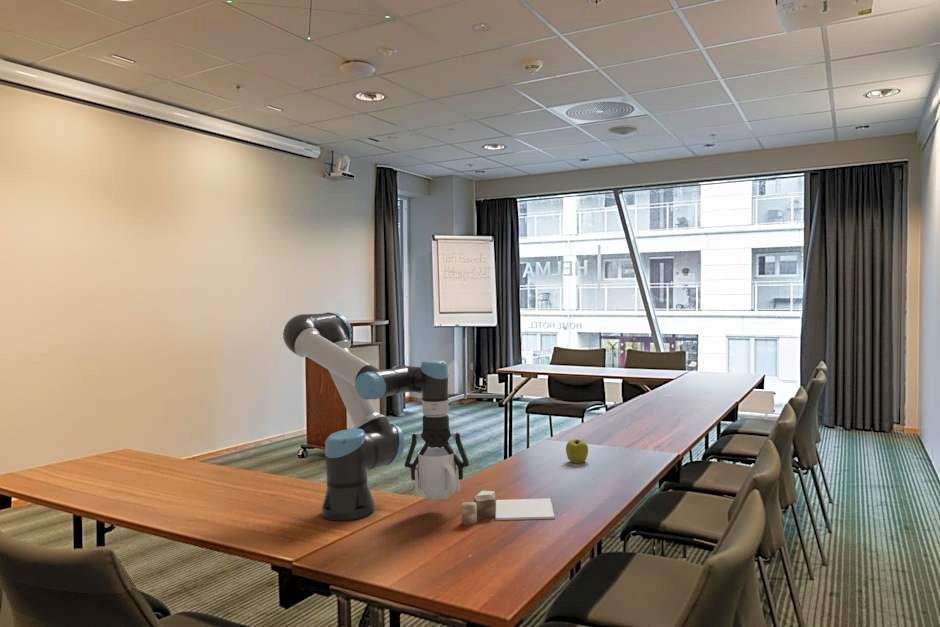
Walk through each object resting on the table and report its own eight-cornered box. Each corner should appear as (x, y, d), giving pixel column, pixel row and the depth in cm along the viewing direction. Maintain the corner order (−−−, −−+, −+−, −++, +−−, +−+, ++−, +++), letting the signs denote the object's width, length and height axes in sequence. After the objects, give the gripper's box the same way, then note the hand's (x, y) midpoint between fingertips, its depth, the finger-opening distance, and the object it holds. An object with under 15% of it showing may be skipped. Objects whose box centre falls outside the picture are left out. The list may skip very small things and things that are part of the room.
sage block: (476, 510, 186) (475, 496, 185) (482, 504, 191) (481, 490, 191) (489, 511, 184) (488, 497, 184) (495, 504, 190) (494, 491, 190)
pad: (495, 520, 176) (495, 517, 176) (496, 501, 192) (496, 499, 192) (554, 518, 175) (554, 516, 175) (550, 500, 191) (550, 498, 191)
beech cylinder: (462, 525, 174) (461, 506, 173) (462, 520, 178) (462, 501, 177) (476, 524, 173) (476, 506, 173) (477, 519, 177) (476, 501, 177)
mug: (472, 501, 181) (470, 454, 181) (438, 509, 175) (436, 461, 175) (444, 488, 194) (442, 445, 193) (412, 495, 188) (410, 451, 187)
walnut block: (478, 519, 178) (477, 501, 178) (474, 513, 183) (473, 496, 183) (495, 517, 179) (494, 499, 179) (491, 511, 184) (490, 494, 184)
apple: (569, 455, 241) (575, 430, 239) (588, 463, 236) (594, 438, 234) (559, 460, 234) (565, 434, 232) (578, 469, 230) (585, 443, 228)
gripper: (392, 417, 181) (394, 495, 182) (476, 416, 180) (477, 494, 181) (397, 412, 189) (399, 487, 190) (477, 411, 188) (478, 486, 188)
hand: (437, 490), depth 185 cm, fingers closed on mug, 11 cm apart
